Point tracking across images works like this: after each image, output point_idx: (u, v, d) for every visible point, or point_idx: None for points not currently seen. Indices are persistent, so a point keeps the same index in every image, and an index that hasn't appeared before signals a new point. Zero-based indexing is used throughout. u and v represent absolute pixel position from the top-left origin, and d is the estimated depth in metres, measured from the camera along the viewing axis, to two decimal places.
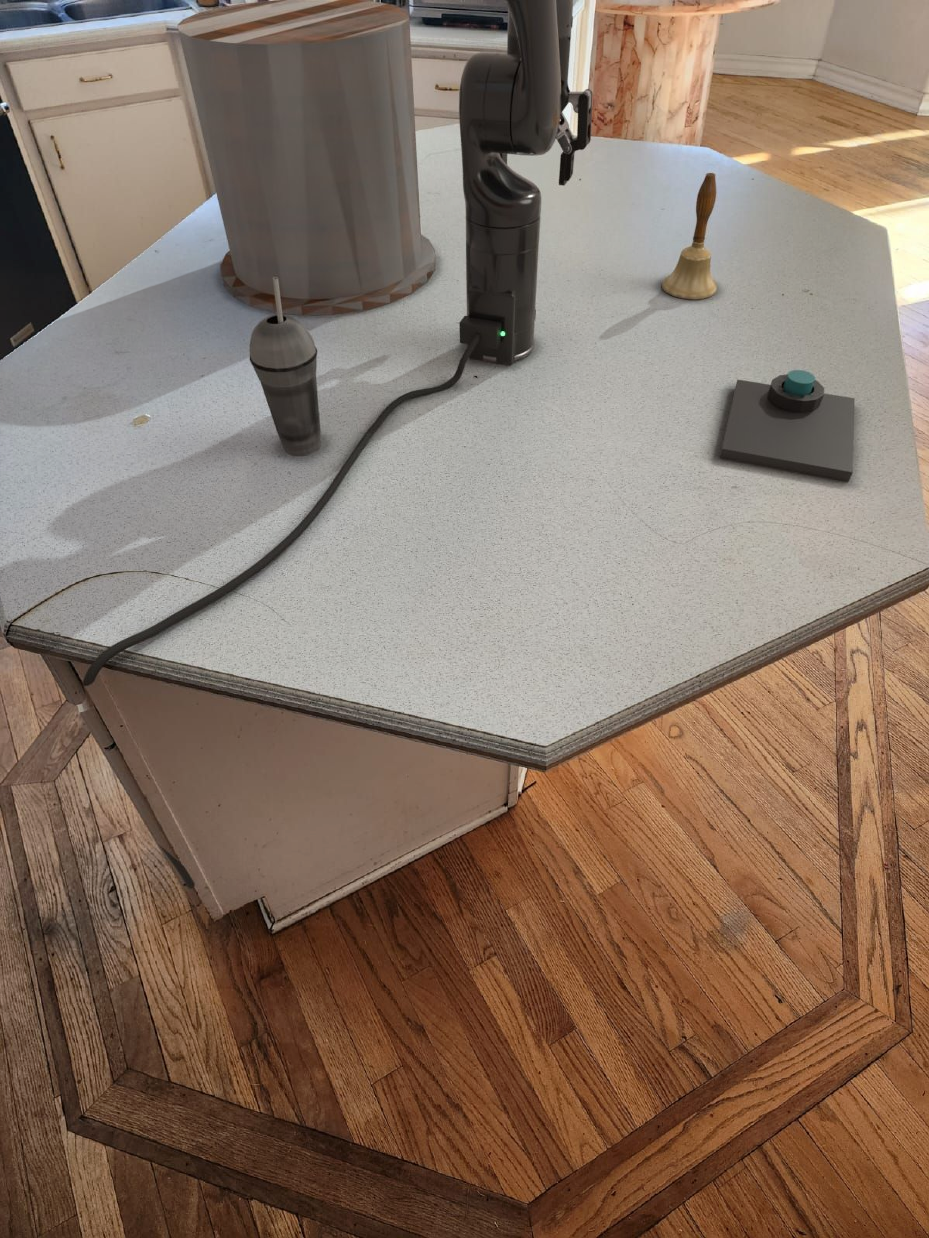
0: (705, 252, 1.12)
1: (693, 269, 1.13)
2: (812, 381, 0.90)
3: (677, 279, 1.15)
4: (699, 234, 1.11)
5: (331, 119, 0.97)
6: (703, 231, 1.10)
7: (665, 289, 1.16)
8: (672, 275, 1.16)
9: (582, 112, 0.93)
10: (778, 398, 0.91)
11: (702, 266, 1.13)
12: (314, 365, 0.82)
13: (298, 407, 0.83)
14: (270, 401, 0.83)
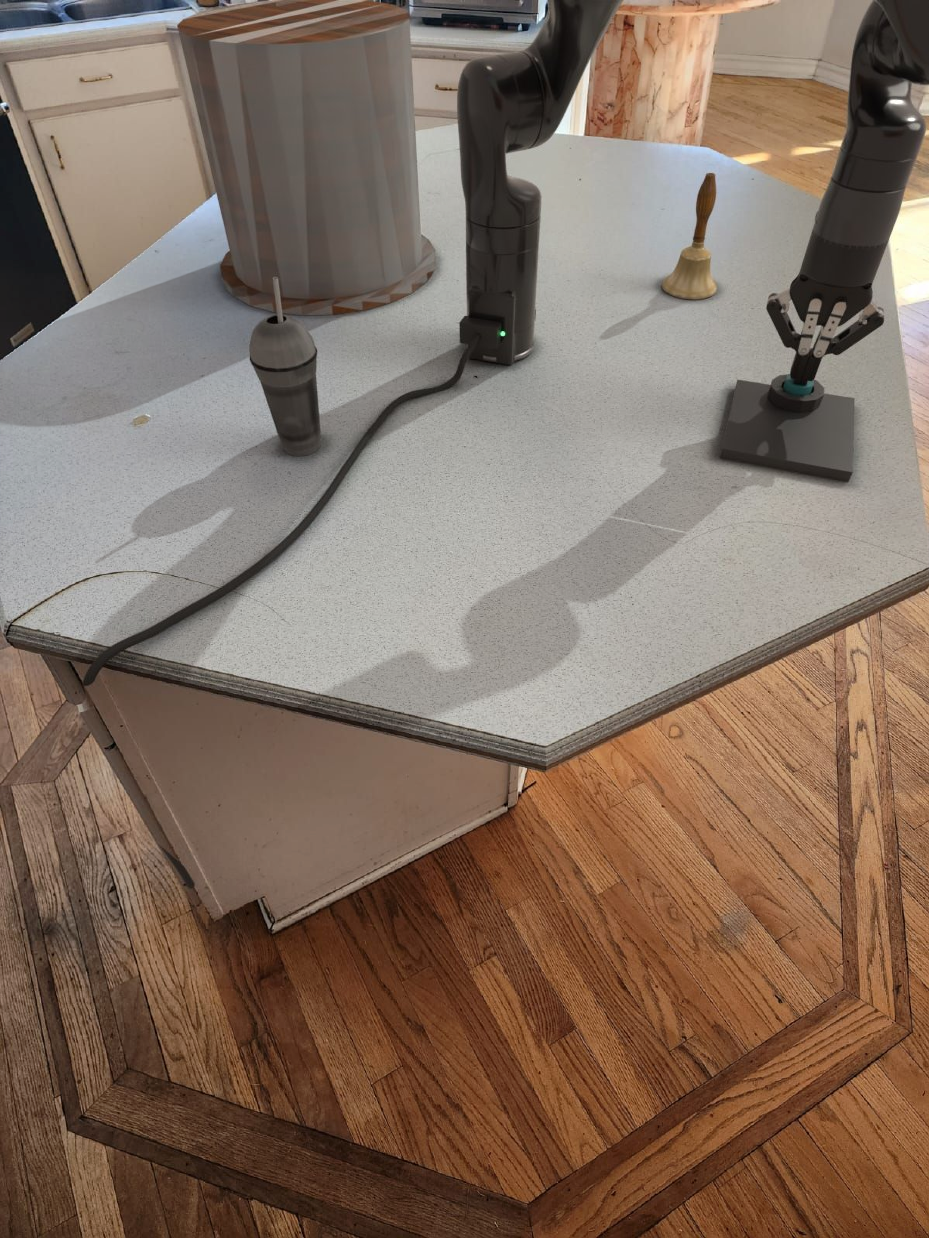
0: (705, 252, 1.12)
1: (693, 269, 1.13)
2: (811, 385, 0.90)
3: (677, 279, 1.15)
4: (699, 234, 1.11)
5: (331, 119, 0.97)
6: (703, 231, 1.10)
7: (665, 289, 1.16)
8: (672, 275, 1.16)
9: (866, 329, 0.83)
10: (778, 398, 0.91)
11: (702, 266, 1.13)
12: (314, 365, 0.82)
13: (298, 407, 0.83)
14: (270, 401, 0.83)
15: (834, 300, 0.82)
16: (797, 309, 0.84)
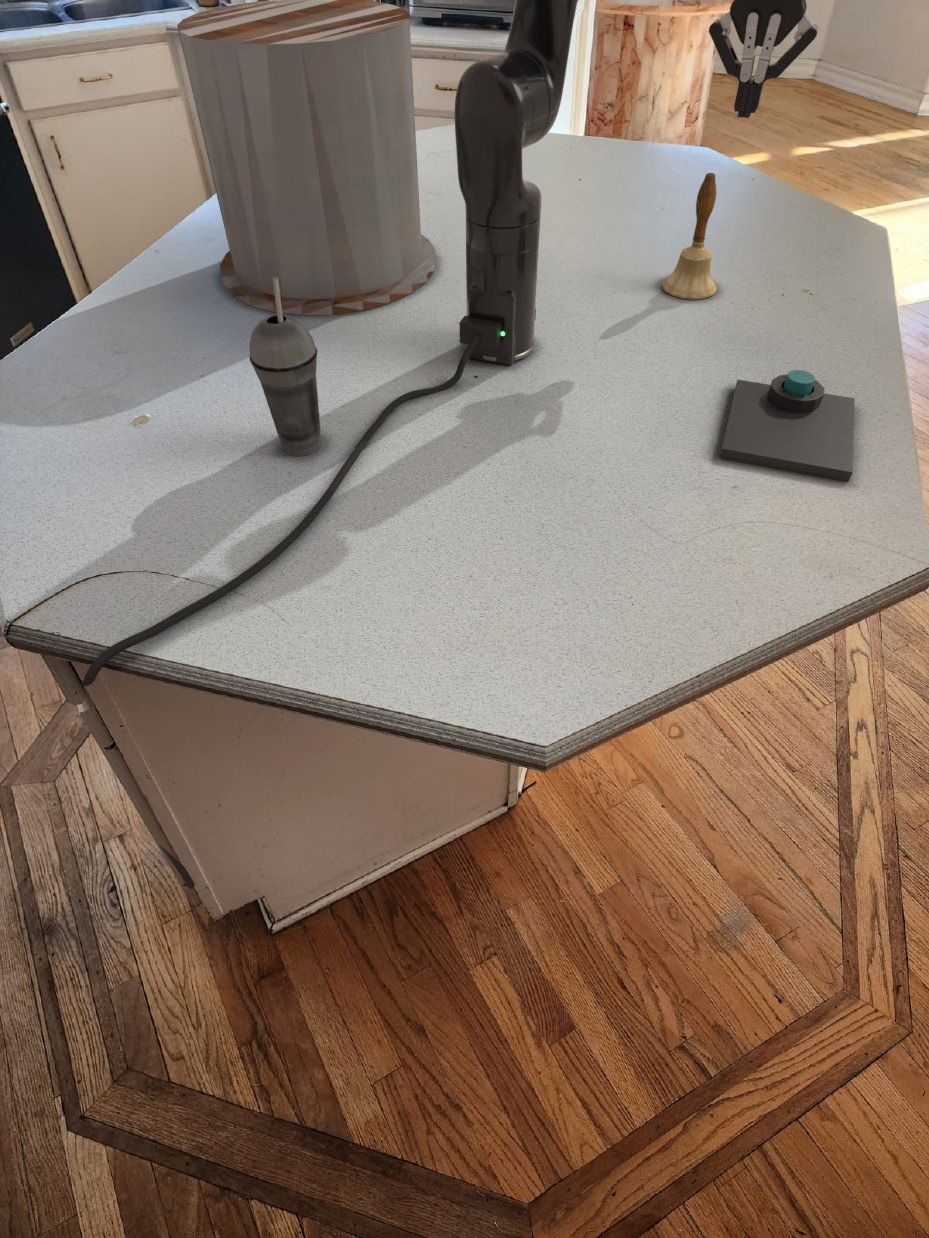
0: (705, 252, 1.12)
1: (693, 269, 1.13)
2: (812, 381, 0.90)
3: (677, 279, 1.15)
4: (699, 234, 1.11)
5: (331, 119, 0.97)
6: (703, 231, 1.10)
7: (665, 289, 1.16)
8: (672, 275, 1.16)
9: (800, 45, 0.89)
10: (778, 398, 0.91)
11: (702, 266, 1.13)
12: (314, 365, 0.82)
13: (298, 407, 0.83)
14: (270, 401, 0.83)
15: (770, 15, 0.88)
16: (737, 29, 0.90)
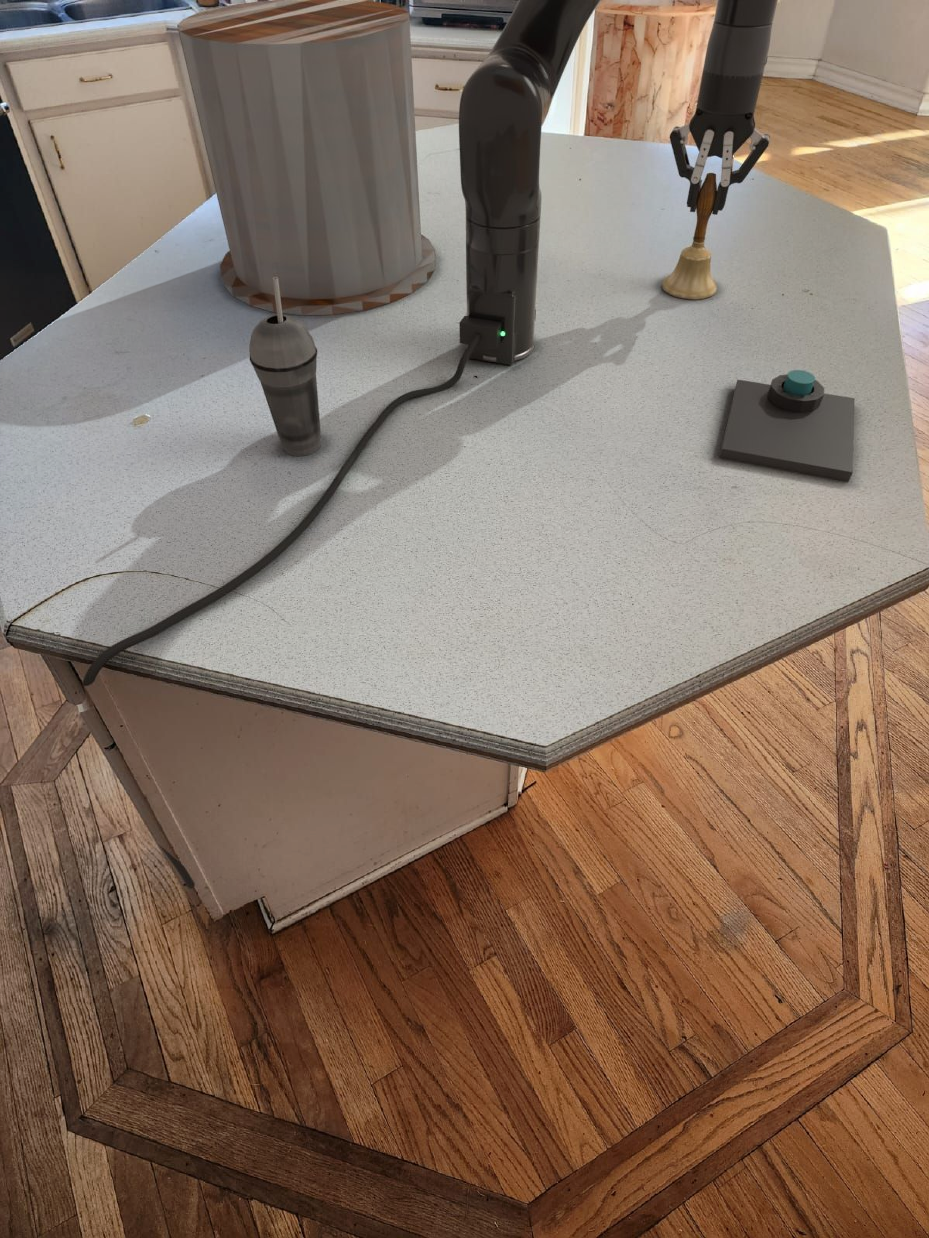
0: (705, 252, 1.12)
1: (693, 269, 1.13)
2: (812, 381, 0.90)
3: (677, 279, 1.15)
4: (700, 234, 1.11)
5: (331, 119, 0.97)
6: (703, 231, 1.10)
7: (665, 289, 1.16)
8: (672, 275, 1.16)
9: (756, 154, 1.01)
10: (778, 398, 0.91)
11: (702, 266, 1.13)
12: (314, 365, 0.82)
13: (298, 407, 0.83)
14: (270, 401, 0.83)
15: (723, 132, 1.01)
16: (696, 142, 1.03)
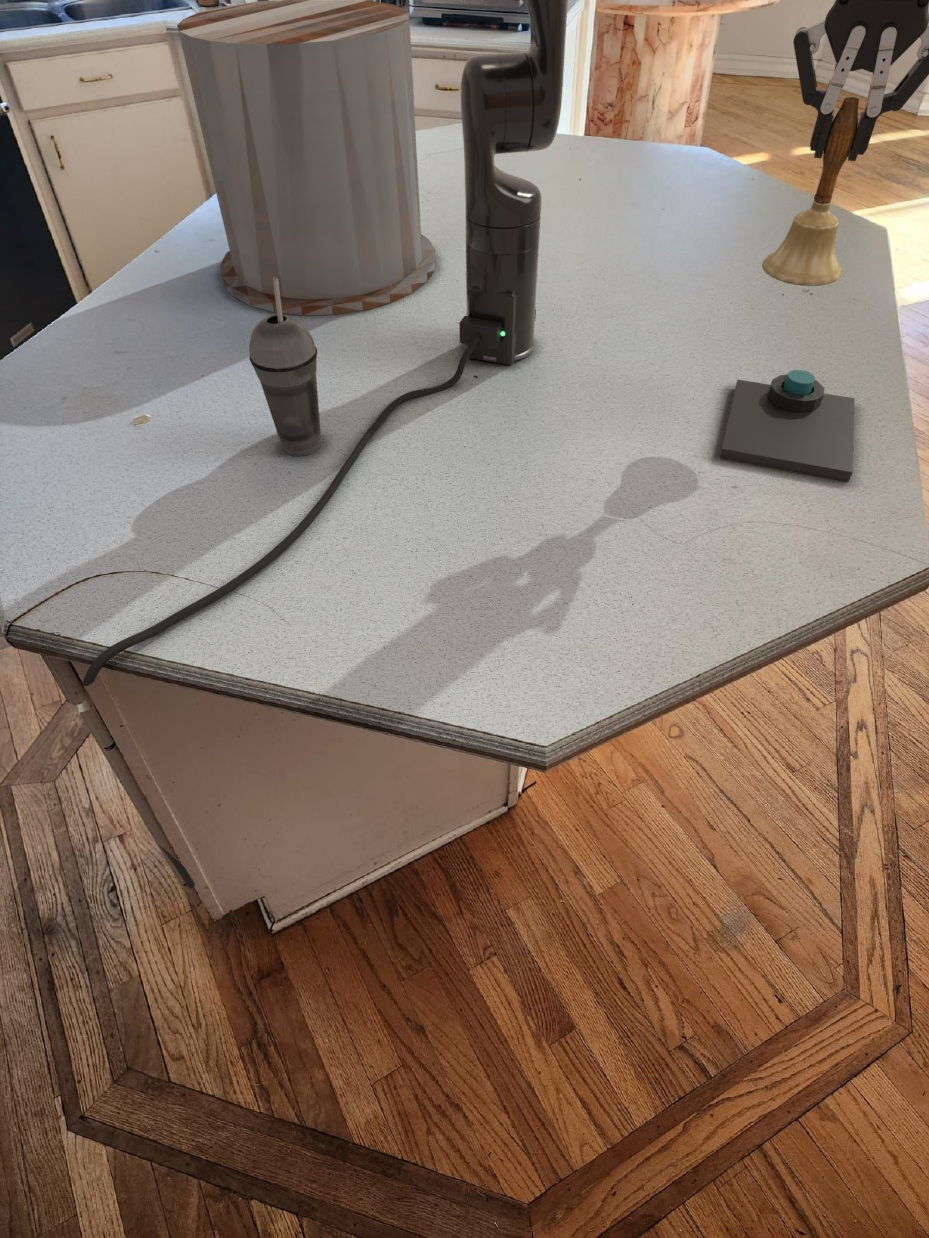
0: (831, 217, 0.78)
1: (813, 242, 0.79)
2: (812, 381, 0.90)
3: (788, 257, 0.80)
4: (826, 190, 0.76)
5: (331, 119, 0.97)
6: (831, 187, 0.76)
7: (768, 272, 0.82)
8: (779, 252, 0.82)
9: None
10: (778, 398, 0.91)
11: (826, 238, 0.78)
12: (314, 365, 0.82)
13: (298, 407, 0.83)
14: (270, 401, 0.83)
15: (880, 31, 0.67)
16: (834, 48, 0.69)
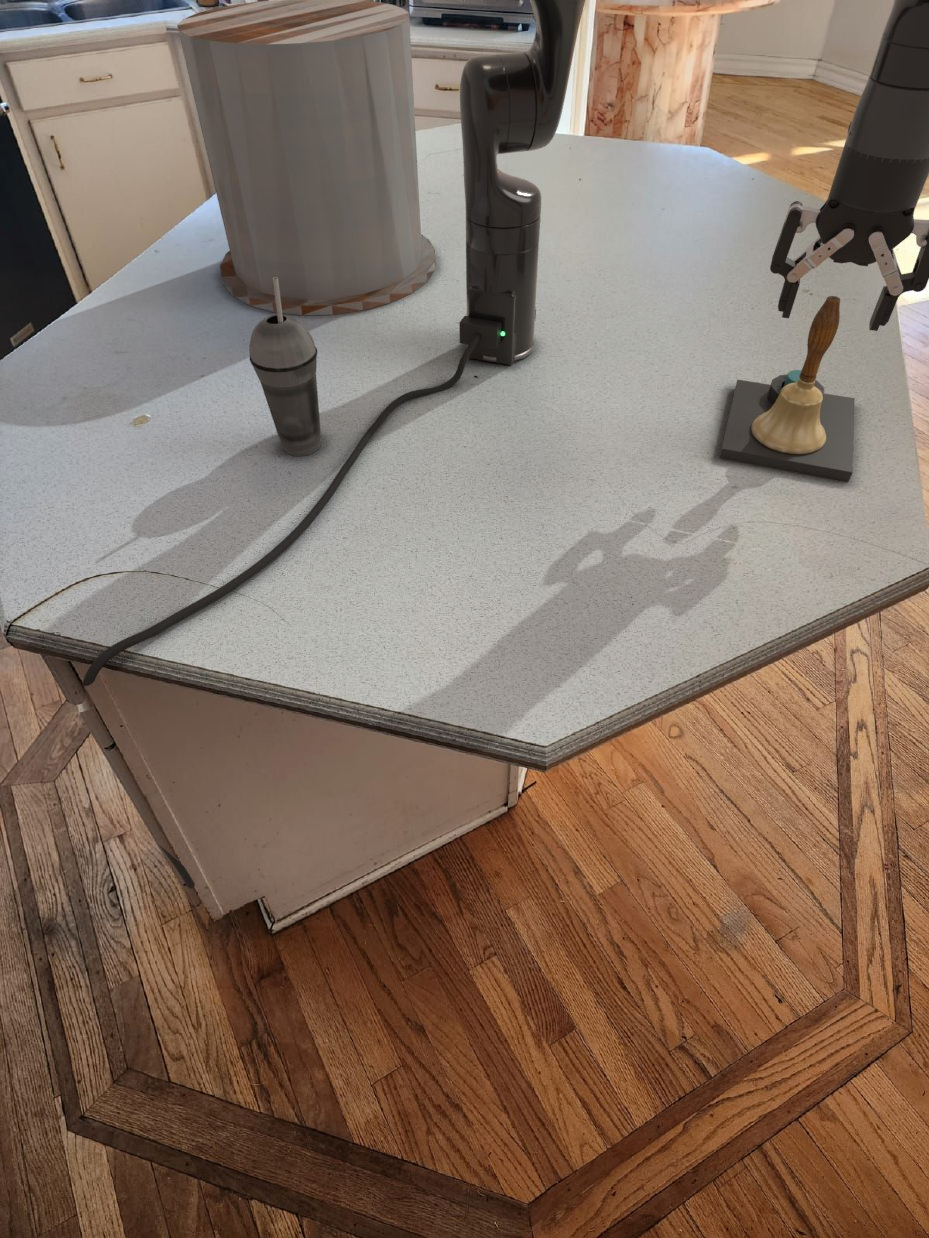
0: (816, 393, 0.83)
1: (799, 416, 0.83)
2: None
3: (775, 426, 0.85)
4: (810, 372, 0.81)
5: (331, 119, 0.97)
6: (815, 369, 0.81)
7: (757, 437, 0.87)
8: (767, 419, 0.86)
9: None
10: None
11: (811, 412, 0.83)
12: (314, 365, 0.82)
13: (298, 407, 0.83)
14: (270, 401, 0.83)
15: (866, 237, 0.71)
16: (824, 243, 0.72)
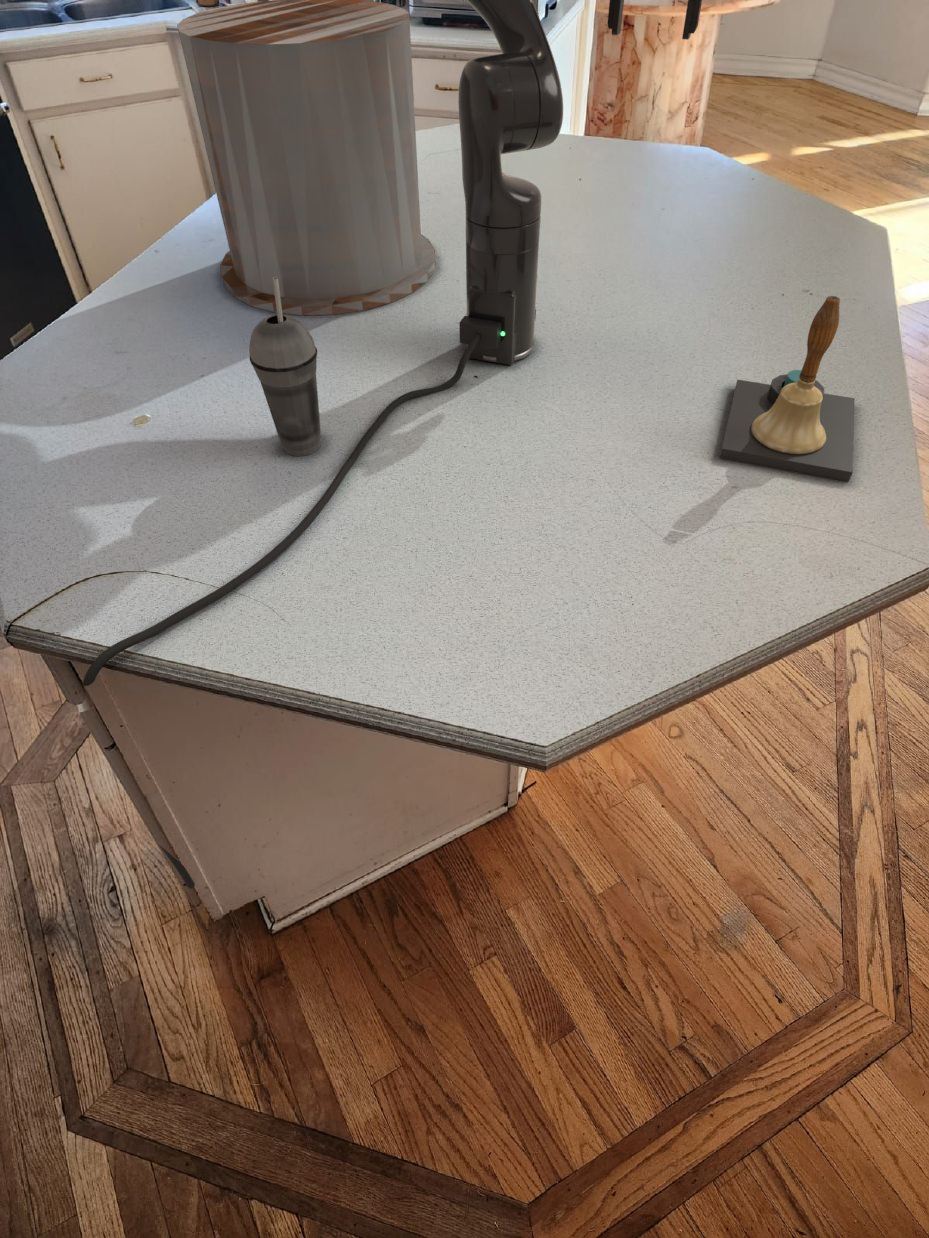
0: (816, 393, 0.83)
1: (798, 416, 0.83)
2: None
3: (775, 426, 0.85)
4: (810, 372, 0.81)
5: (331, 119, 0.97)
6: (815, 369, 0.81)
7: (757, 437, 0.87)
8: (767, 419, 0.86)
9: None
10: None
11: (811, 412, 0.83)
12: (314, 365, 0.82)
13: (298, 407, 0.83)
14: (270, 401, 0.83)
15: None
16: None
